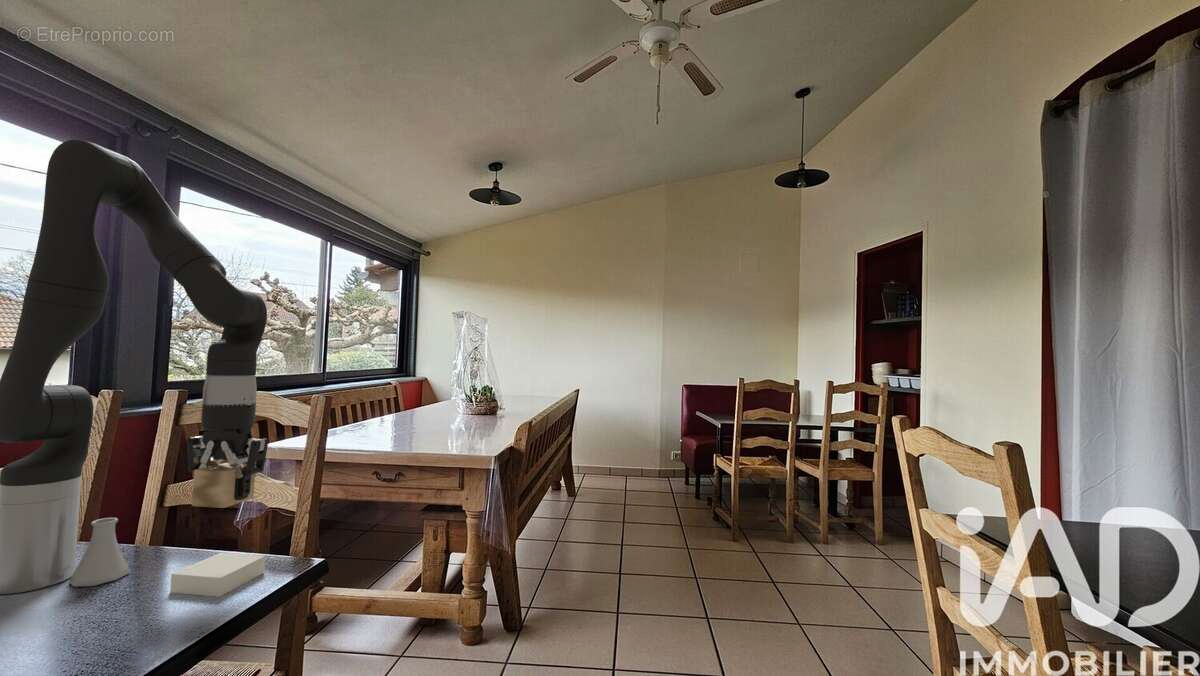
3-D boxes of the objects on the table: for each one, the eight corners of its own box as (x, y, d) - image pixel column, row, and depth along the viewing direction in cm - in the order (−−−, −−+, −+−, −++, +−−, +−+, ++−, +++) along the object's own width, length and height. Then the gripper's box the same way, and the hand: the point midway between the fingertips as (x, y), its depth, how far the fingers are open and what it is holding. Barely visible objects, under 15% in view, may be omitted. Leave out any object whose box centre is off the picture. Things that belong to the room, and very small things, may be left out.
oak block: (191, 506, 81) (194, 470, 82) (223, 496, 87) (225, 462, 88) (223, 508, 81) (225, 471, 81) (253, 498, 86) (255, 464, 87)
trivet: (170, 592, 79) (171, 573, 79) (219, 569, 88) (220, 552, 88) (219, 596, 78) (220, 577, 78) (264, 573, 87) (265, 556, 87)
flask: (90, 590, 79) (95, 529, 80) (57, 585, 81) (62, 525, 81) (140, 572, 87) (144, 515, 87) (109, 567, 88) (113, 512, 89)
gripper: (172, 401, 82) (165, 501, 81) (249, 404, 80) (243, 506, 79) (212, 398, 89) (207, 490, 89) (283, 400, 88) (278, 494, 87)
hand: (224, 497), depth 84 cm, fingers closed on oak block, 6 cm apart
